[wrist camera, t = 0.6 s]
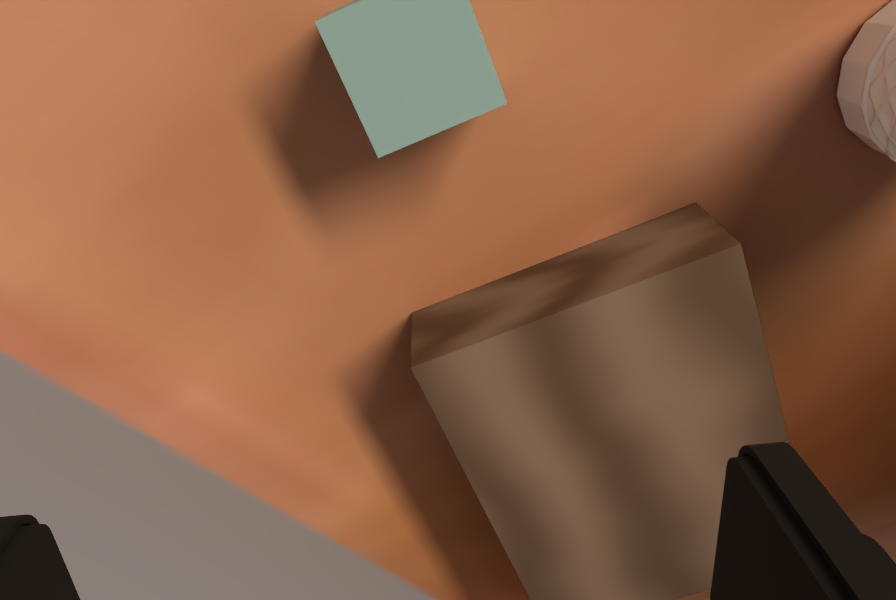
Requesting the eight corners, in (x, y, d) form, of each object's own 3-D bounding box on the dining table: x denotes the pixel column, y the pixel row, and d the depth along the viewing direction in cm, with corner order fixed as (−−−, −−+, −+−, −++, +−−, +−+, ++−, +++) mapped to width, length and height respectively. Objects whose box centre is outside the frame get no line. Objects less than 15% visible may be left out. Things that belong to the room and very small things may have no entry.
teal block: (448, -44, 27) (453, -43, 23) (494, 80, 29) (507, 103, 25) (331, 10, 28) (314, 21, 24) (384, 127, 30) (378, 158, 26)
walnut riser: (695, 202, 32) (741, 243, 27) (772, 487, 39) (817, 555, 35) (411, 313, 34) (410, 367, 29) (535, 563, 41) (550, 637, 37)
